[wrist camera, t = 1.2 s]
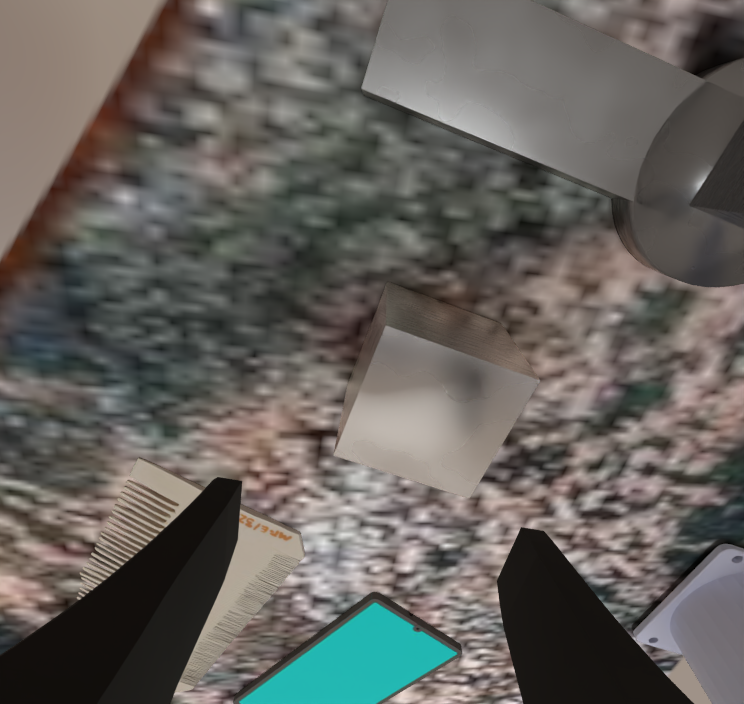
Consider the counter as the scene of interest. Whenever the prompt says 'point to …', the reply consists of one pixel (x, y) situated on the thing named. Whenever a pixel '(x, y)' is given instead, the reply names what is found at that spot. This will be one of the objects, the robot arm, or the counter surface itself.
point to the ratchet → (582, 119)
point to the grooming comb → (246, 570)
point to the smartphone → (356, 659)
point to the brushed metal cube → (432, 392)
